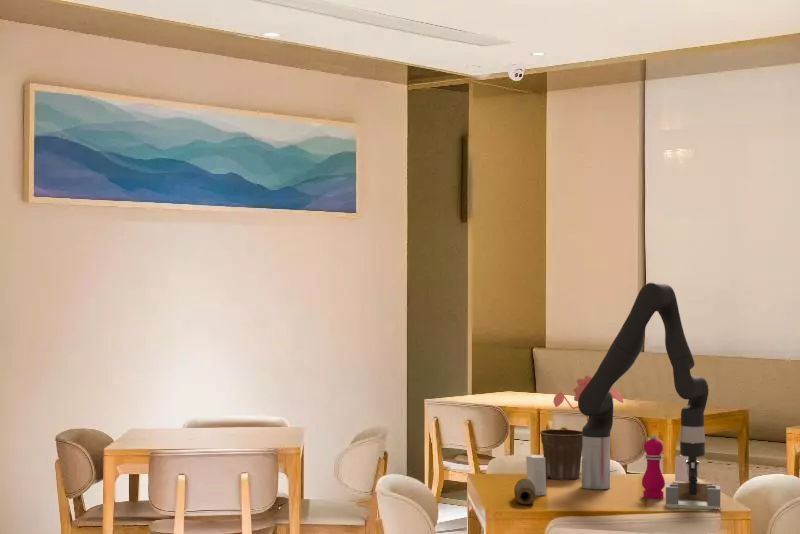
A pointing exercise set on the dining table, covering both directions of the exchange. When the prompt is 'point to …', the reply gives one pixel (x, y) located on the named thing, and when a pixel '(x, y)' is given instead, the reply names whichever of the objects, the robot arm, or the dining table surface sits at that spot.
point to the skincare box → (537, 473)
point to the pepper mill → (653, 469)
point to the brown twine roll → (525, 491)
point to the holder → (711, 502)
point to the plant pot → (562, 453)
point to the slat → (684, 491)
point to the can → (681, 468)
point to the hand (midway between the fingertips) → (692, 492)
